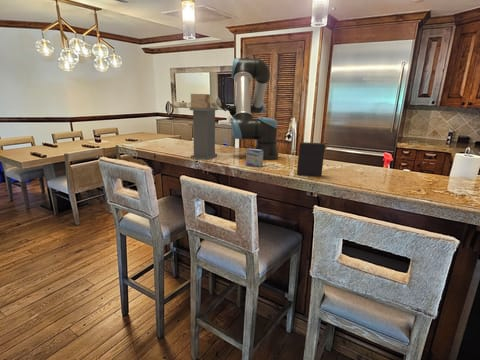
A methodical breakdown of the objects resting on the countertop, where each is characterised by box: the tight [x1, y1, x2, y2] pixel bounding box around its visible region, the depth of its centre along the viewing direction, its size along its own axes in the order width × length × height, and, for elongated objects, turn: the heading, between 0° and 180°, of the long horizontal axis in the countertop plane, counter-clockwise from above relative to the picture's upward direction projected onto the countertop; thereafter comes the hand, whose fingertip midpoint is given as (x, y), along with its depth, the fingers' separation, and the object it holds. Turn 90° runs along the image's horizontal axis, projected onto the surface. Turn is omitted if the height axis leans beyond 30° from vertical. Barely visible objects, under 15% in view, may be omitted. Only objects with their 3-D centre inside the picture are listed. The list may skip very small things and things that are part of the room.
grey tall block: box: [189, 106, 219, 161], centre depth 162 cm, size 16×11×28 cm
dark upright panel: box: [296, 141, 326, 177], centre depth 131 cm, size 11×4×15 cm, turn 84°
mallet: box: [190, 93, 221, 108], centre depth 163 cm, size 27×8×7 cm, turn 159°
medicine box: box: [245, 148, 264, 168], centre depth 147 cm, size 8×4×9 cm, turn 62°
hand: (225, 97), depth 183 cm, fingers open, 13 cm apart
